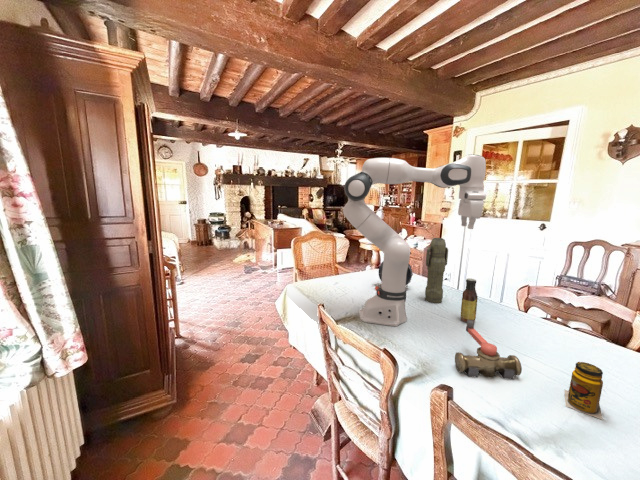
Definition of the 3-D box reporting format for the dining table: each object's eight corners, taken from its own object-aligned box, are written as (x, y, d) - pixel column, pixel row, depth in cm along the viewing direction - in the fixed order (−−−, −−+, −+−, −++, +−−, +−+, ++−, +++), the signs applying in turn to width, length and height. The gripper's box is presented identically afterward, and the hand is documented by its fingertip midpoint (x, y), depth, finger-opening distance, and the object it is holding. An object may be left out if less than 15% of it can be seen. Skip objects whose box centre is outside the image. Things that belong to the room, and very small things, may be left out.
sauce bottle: (477, 324, 121) (482, 282, 118) (462, 322, 123) (466, 281, 119) (472, 317, 128) (476, 278, 124) (458, 316, 129) (462, 277, 126)
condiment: (565, 406, 74) (572, 367, 72) (564, 390, 81) (570, 353, 79) (603, 420, 70) (612, 379, 68) (598, 402, 76) (606, 363, 74)
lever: (484, 355, 85) (486, 343, 85) (462, 329, 102) (463, 319, 101) (499, 356, 85) (500, 344, 84) (474, 330, 101) (475, 320, 101)
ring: (413, 291, 162) (415, 259, 159) (380, 291, 162) (381, 259, 159) (407, 285, 173) (409, 255, 169) (376, 285, 173) (377, 255, 170)
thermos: (448, 302, 146) (453, 239, 140) (430, 304, 142) (435, 240, 137) (436, 296, 154) (441, 236, 148) (419, 298, 151) (423, 237, 145)
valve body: (461, 376, 86) (464, 356, 85) (453, 364, 93) (455, 345, 91) (520, 380, 85) (523, 360, 84) (508, 367, 91) (511, 348, 90)
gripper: (456, 194, 123) (453, 224, 126) (469, 194, 104) (465, 230, 106) (471, 195, 122) (467, 225, 124) (487, 195, 102) (483, 230, 105)
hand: (466, 227), depth 115 cm, fingers open, 8 cm apart
